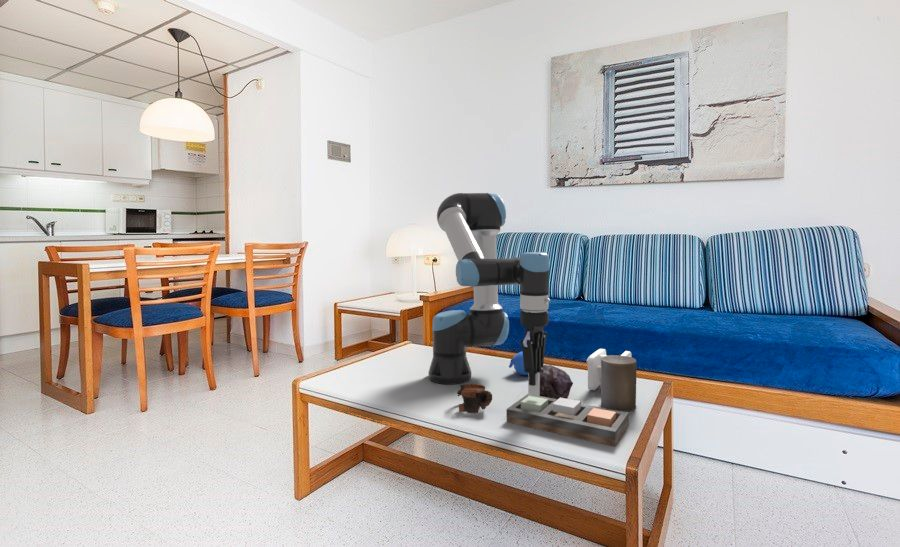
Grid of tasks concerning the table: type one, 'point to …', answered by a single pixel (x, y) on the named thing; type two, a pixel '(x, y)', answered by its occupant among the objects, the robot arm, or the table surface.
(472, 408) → the pottery mug
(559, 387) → the rock
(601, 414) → the orange square block
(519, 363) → the blue rounded piece
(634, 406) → the pillar candle
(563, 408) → the white key
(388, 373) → the table surface
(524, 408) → the sage key
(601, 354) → the cable organizer
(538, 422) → the keypad
